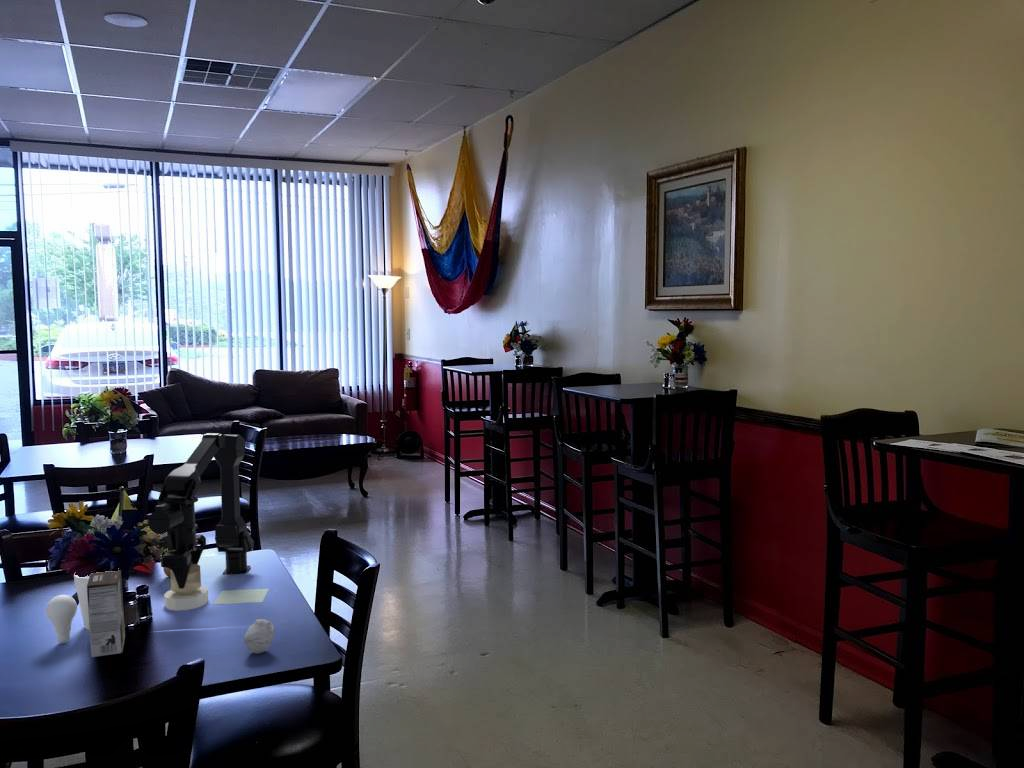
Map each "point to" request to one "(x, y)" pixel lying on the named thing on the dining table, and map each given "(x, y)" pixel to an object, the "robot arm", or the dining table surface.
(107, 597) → the coffee box
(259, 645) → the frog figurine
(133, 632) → the dining table surface
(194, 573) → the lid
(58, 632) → the lightbulb
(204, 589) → the bowl
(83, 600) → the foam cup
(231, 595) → the mat
